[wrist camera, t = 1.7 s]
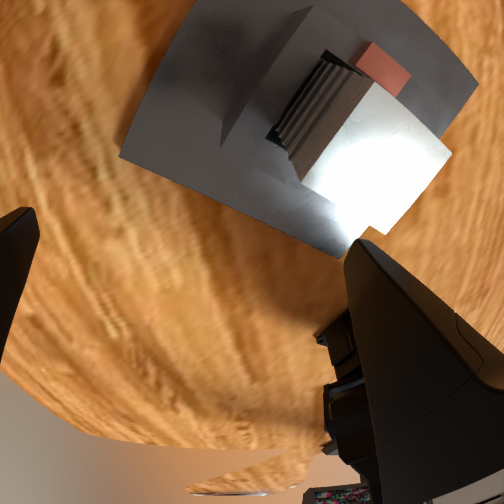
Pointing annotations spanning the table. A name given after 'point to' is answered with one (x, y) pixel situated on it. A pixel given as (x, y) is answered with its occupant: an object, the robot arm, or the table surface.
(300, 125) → the post
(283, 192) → the stand base
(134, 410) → the table surface
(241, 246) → the table surface
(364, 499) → the computer monitor
